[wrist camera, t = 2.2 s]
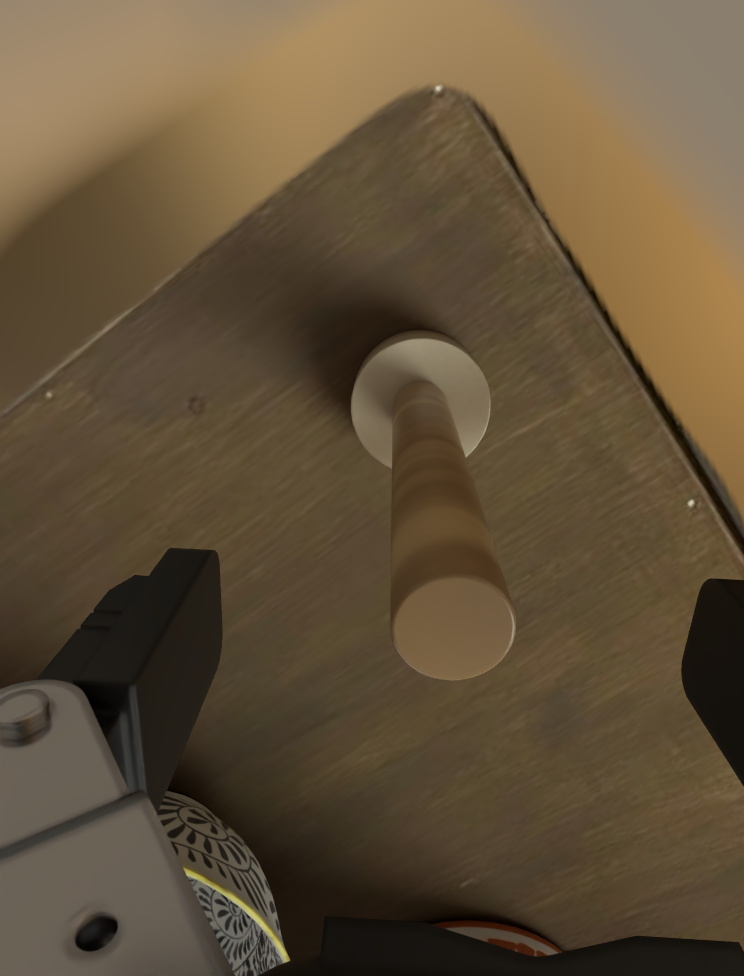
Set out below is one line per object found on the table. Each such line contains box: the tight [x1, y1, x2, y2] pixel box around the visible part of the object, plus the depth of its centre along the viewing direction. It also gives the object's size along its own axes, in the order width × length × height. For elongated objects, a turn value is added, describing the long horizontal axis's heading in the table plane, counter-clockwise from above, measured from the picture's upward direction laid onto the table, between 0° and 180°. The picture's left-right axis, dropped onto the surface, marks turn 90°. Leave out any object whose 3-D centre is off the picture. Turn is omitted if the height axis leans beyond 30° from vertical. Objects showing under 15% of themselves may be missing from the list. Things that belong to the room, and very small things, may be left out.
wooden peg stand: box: [351, 330, 516, 680], centre depth 18 cm, size 5×5×16 cm
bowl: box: [157, 791, 290, 976], centre depth 31 cm, size 16×16×8 cm
